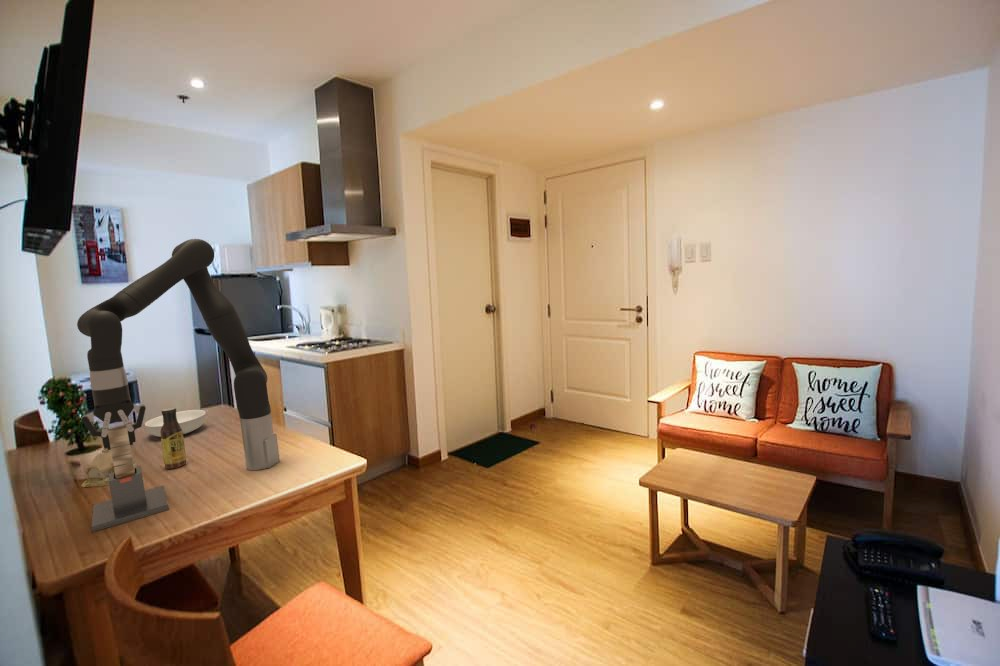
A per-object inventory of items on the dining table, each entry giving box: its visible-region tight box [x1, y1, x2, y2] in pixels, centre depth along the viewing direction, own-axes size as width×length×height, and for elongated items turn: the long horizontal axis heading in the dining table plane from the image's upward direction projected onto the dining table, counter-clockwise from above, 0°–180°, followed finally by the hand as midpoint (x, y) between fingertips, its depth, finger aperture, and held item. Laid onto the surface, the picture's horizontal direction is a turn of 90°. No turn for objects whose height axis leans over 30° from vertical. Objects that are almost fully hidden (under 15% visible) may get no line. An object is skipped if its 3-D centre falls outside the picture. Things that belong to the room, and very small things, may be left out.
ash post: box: [108, 424, 135, 478], centre depth 128 cm, size 4×4×16 cm
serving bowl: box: [144, 409, 207, 438], centre depth 195 cm, size 21×21×7 cm
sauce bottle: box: [160, 407, 187, 470], centre depth 159 cm, size 7×6×20 cm
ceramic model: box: [81, 448, 139, 488], centre depth 152 cm, size 14×11×10 cm
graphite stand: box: [91, 465, 170, 533], centre depth 130 cm, size 16×16×10 cm
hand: (120, 446), depth 128 cm, fingers closed on ash post, 4 cm apart
